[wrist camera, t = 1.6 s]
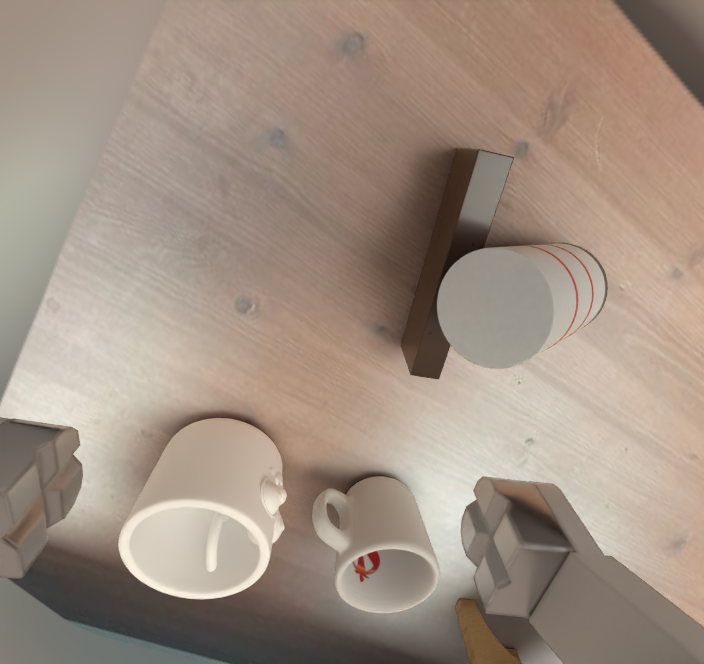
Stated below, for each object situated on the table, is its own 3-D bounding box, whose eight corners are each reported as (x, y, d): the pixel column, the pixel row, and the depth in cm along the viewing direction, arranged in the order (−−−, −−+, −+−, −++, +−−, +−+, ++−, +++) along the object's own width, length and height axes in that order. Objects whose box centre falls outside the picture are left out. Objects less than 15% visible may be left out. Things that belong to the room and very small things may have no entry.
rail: (456, 147, 25) (479, 149, 21) (486, 154, 25) (514, 157, 22) (400, 345, 31) (410, 375, 27) (425, 349, 31) (439, 379, 27)
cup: (291, 491, 37) (281, 577, 30) (345, 434, 34) (348, 513, 27) (382, 538, 40) (393, 626, 33) (437, 489, 38) (462, 573, 30)
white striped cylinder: (429, 210, 27) (482, 252, 17) (587, 243, 28) (726, 301, 18) (406, 295, 29) (440, 376, 19) (552, 322, 31) (657, 413, 20)
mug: (295, 514, 38) (286, 617, 30) (183, 517, 38) (142, 623, 29) (288, 408, 33) (274, 497, 25) (158, 410, 32) (99, 502, 24)
